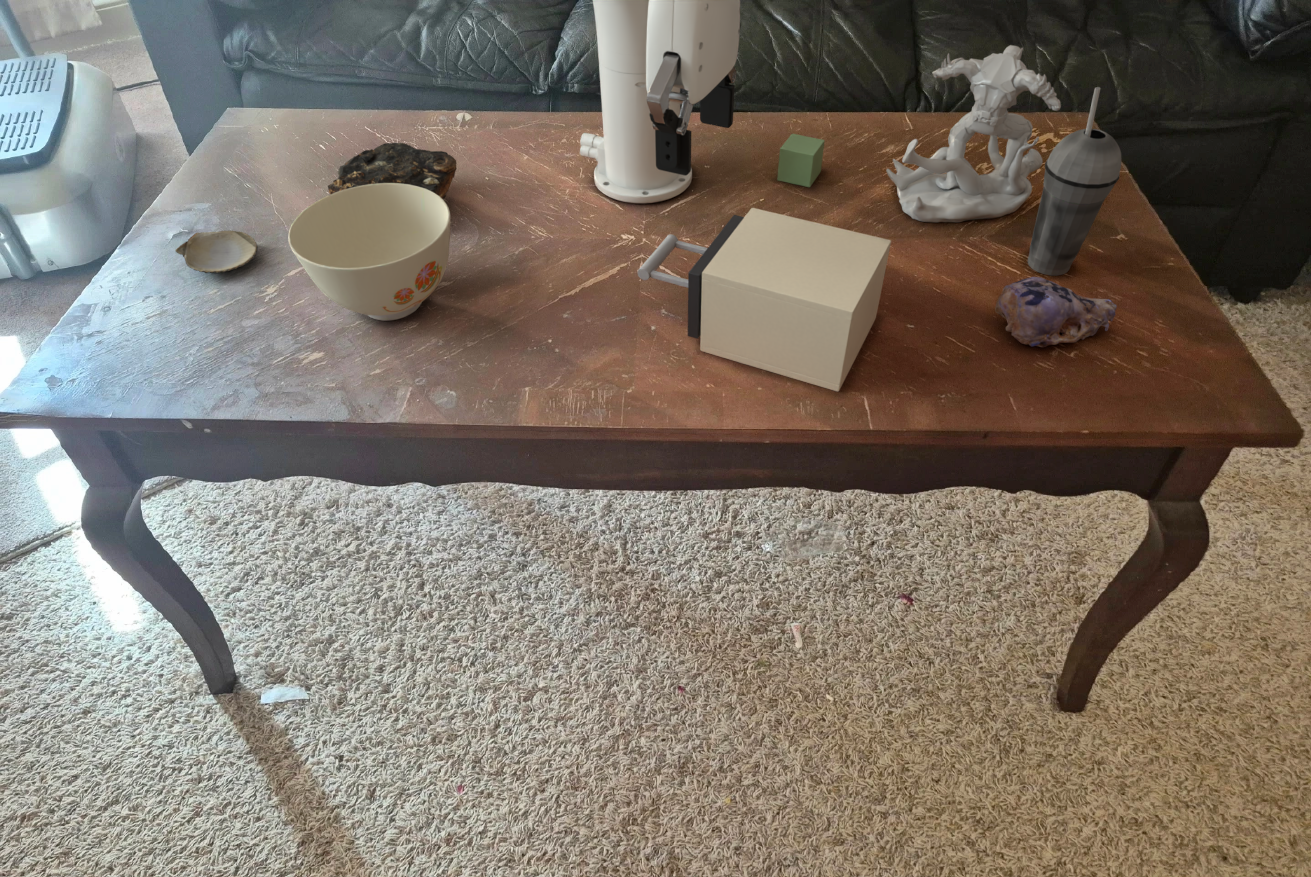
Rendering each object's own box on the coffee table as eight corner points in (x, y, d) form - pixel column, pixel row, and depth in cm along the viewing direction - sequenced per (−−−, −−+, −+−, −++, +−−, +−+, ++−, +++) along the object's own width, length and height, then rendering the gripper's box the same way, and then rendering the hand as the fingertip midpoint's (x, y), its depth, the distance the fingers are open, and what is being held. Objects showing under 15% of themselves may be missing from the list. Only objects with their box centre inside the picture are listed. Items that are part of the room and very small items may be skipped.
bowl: (336, 368, 88) (306, 287, 81) (303, 286, 98) (273, 206, 91) (487, 321, 93) (471, 240, 86) (440, 247, 103) (423, 169, 96)
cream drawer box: (700, 351, 89) (701, 272, 82) (746, 284, 97) (751, 207, 90) (838, 392, 84) (852, 312, 78) (875, 318, 92) (891, 240, 85)
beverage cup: (1087, 286, 96) (1158, 108, 81) (1017, 279, 97) (1075, 102, 82) (1078, 248, 101) (1144, 75, 86) (1012, 242, 102) (1066, 70, 87)
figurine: (1014, 169, 113) (1058, 25, 100) (1050, 223, 104) (1103, 72, 91) (877, 175, 113) (903, 31, 100) (901, 229, 104) (933, 79, 91)
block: (777, 180, 113) (779, 148, 109) (788, 164, 115) (792, 133, 112) (809, 187, 111) (813, 155, 108) (820, 171, 114) (825, 139, 111)
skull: (1102, 303, 92) (1122, 259, 88) (1119, 358, 88) (1142, 315, 83) (984, 304, 94) (997, 260, 89) (995, 358, 89) (1010, 315, 84)
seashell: (232, 298, 100) (274, 248, 103) (222, 281, 97) (265, 231, 101) (172, 272, 101) (216, 224, 105) (160, 255, 98) (205, 207, 102)
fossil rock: (375, 172, 116) (363, 130, 111) (472, 183, 113) (464, 141, 109) (323, 229, 106) (309, 186, 102) (428, 243, 104) (418, 199, 100)
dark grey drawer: (629, 319, 92) (625, 255, 86) (675, 262, 99) (675, 200, 93) (813, 373, 85) (823, 308, 80) (849, 308, 92) (860, 244, 87)
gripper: (699, -92, 76) (696, 101, 88) (604, -29, 65) (616, 182, 77) (781, -83, 73) (766, 115, 85) (698, -15, 62) (694, 200, 75)
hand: (695, 146), depth 81 cm, fingers open, 9 cm apart
